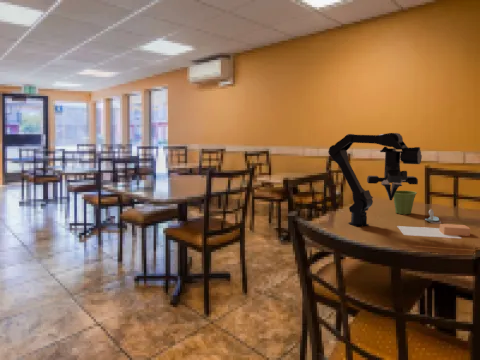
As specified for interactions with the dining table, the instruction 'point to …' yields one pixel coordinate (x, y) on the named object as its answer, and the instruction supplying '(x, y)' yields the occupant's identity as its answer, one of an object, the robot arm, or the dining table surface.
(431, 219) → the pacifier
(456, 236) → the mat
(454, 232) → the orange block
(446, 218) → the dining table surface
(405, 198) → the plant pot
